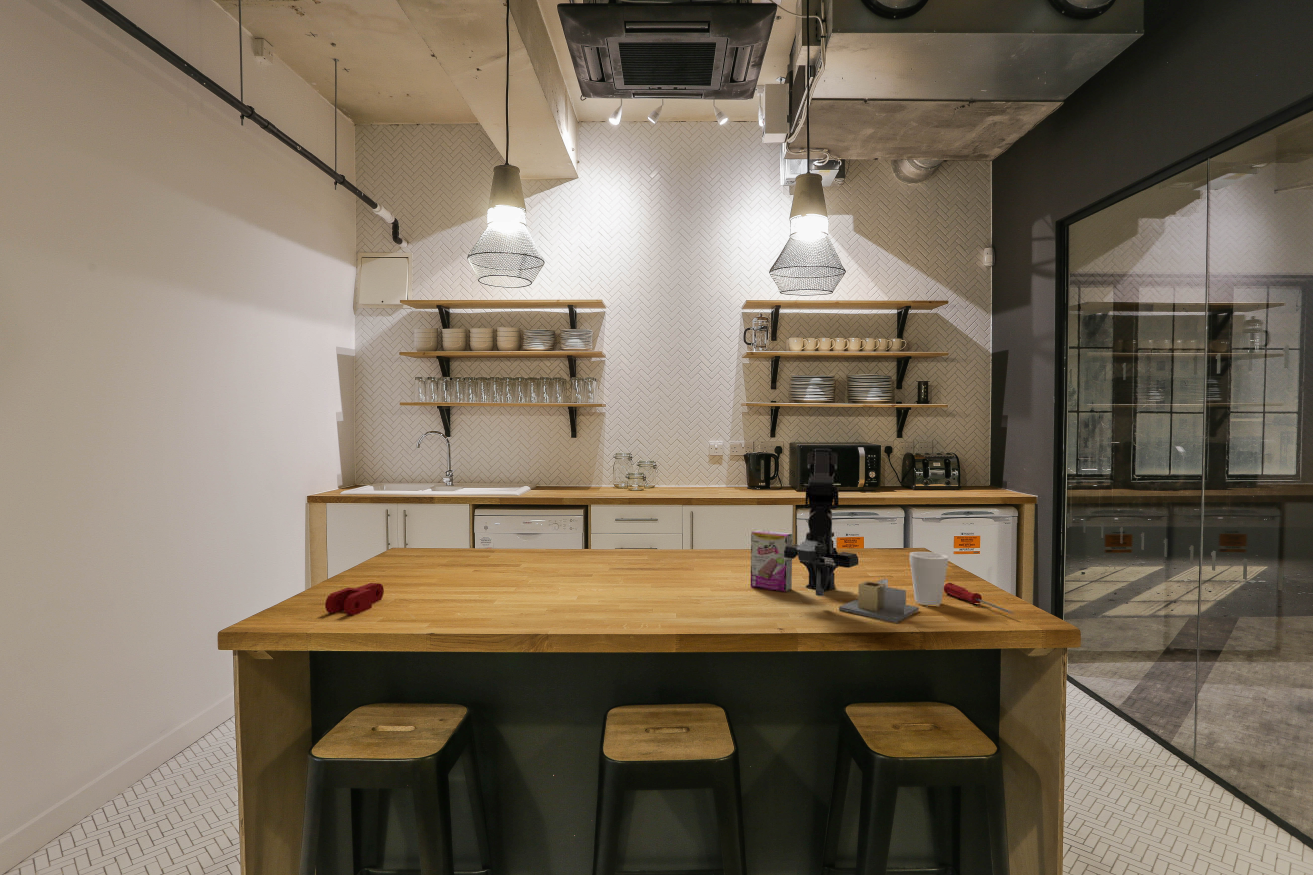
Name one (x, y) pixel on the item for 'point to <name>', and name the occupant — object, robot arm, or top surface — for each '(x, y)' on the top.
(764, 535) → the candy bar box
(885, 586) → the hinge
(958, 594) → the screwdriver
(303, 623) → the top surface
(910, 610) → the base plate
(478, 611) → the top surface
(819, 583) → the hinge pin
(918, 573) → the foam cup
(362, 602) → the mechanical linkage
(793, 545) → the robot arm
